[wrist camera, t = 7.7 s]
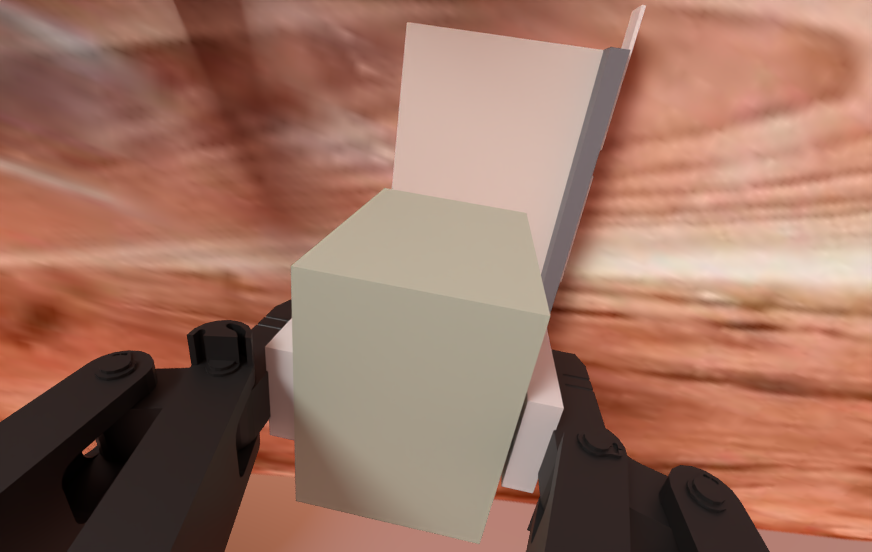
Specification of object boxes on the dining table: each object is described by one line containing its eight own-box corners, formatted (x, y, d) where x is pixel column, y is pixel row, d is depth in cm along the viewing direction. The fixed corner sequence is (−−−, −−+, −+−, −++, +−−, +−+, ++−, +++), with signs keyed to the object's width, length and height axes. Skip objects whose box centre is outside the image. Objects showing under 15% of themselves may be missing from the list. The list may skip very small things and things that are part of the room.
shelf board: (415, -15, 23) (404, -29, 20) (630, 14, 22) (648, 3, 19) (384, 311, 32) (374, 331, 30) (534, 340, 31) (537, 363, 29)
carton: (371, 349, 17) (295, 500, 11) (384, 187, 14) (290, 266, 8) (490, 374, 17) (485, 545, 10) (530, 213, 14) (558, 317, 7)
